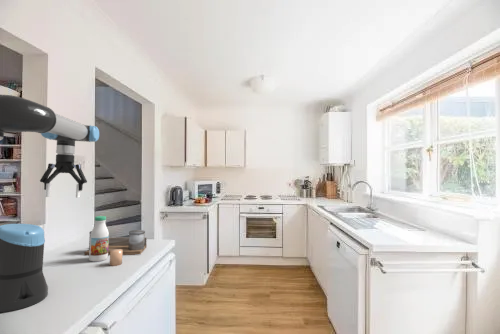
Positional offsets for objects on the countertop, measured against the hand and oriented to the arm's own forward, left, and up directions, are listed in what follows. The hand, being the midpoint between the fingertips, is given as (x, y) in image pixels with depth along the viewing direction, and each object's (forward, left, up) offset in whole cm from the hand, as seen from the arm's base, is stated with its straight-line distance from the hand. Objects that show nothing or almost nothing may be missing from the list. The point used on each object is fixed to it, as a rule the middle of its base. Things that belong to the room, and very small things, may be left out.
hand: (63, 197), depth 130 cm
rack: (+4, -25, -28) cm, 38 cm away
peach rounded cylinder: (-16, -31, -28) cm, 45 cm away
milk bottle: (-9, -21, -28) cm, 37 cm away
